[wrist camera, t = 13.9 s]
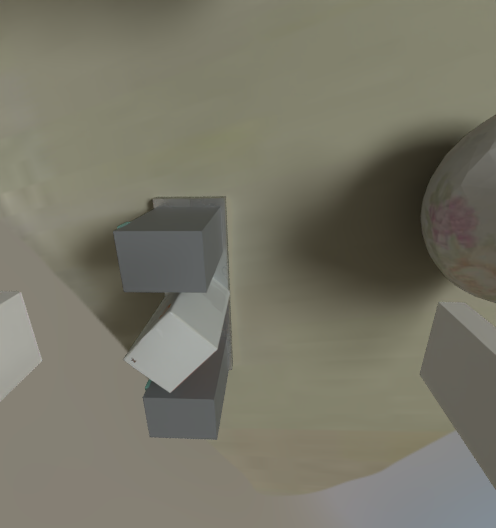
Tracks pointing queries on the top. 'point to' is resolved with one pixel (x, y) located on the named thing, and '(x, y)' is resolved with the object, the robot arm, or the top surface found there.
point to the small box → (180, 336)
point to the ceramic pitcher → (465, 213)
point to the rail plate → (223, 265)
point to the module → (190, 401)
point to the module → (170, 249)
